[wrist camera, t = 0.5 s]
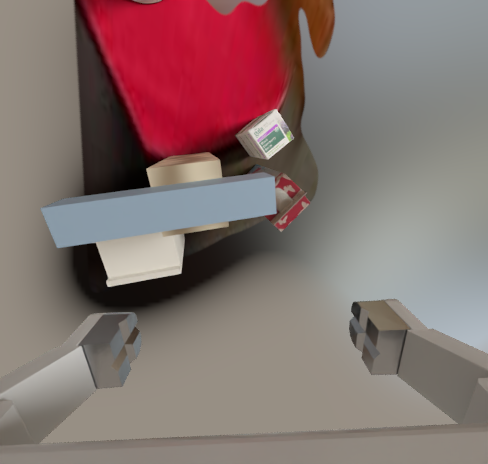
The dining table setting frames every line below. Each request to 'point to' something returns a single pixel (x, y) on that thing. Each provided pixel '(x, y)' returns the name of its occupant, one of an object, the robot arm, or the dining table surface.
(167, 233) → the post
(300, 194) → the juice carton
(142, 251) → the cream block
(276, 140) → the syrup box
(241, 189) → the bar
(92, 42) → the dining table surface
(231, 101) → the dining table surface
